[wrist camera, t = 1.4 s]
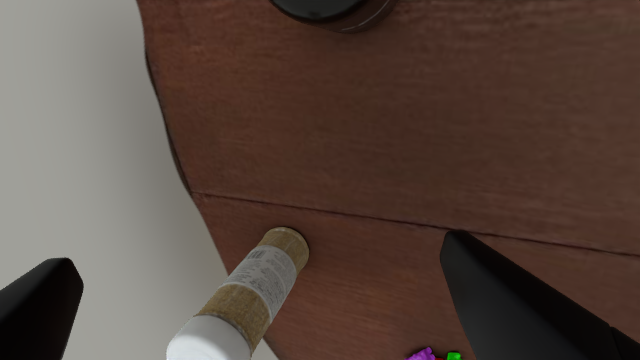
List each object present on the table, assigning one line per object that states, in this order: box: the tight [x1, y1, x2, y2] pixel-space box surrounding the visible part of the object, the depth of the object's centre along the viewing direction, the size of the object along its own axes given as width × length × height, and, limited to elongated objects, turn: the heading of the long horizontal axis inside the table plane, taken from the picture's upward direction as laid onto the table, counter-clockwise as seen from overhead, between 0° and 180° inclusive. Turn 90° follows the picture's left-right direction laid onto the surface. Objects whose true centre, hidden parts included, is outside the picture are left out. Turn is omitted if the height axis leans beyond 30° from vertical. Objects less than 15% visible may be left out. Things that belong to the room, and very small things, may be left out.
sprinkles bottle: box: [166, 227, 309, 360], centre depth 25 cm, size 5×5×13 cm
